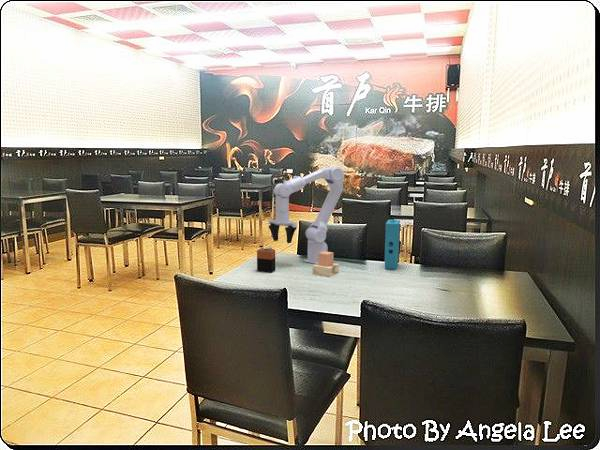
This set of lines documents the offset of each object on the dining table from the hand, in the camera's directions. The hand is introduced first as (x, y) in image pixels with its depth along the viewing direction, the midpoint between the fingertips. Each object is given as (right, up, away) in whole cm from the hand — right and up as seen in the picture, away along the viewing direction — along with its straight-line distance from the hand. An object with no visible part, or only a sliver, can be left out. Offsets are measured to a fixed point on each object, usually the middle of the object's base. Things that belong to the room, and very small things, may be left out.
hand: (282, 241), depth 195 cm
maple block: (+18, -13, -12) cm, 25 cm away
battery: (-6, -12, -8) cm, 16 cm away
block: (+48, -11, -2) cm, 49 cm away
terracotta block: (+18, -9, -12) cm, 24 cm away
